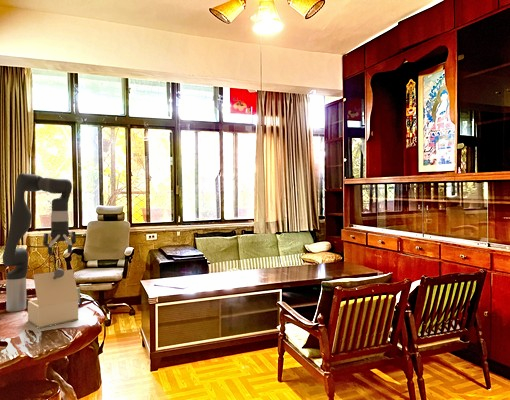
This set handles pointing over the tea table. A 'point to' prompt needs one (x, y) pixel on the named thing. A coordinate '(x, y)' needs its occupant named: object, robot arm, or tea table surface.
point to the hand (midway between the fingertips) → (59, 253)
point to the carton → (52, 313)
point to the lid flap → (55, 287)
